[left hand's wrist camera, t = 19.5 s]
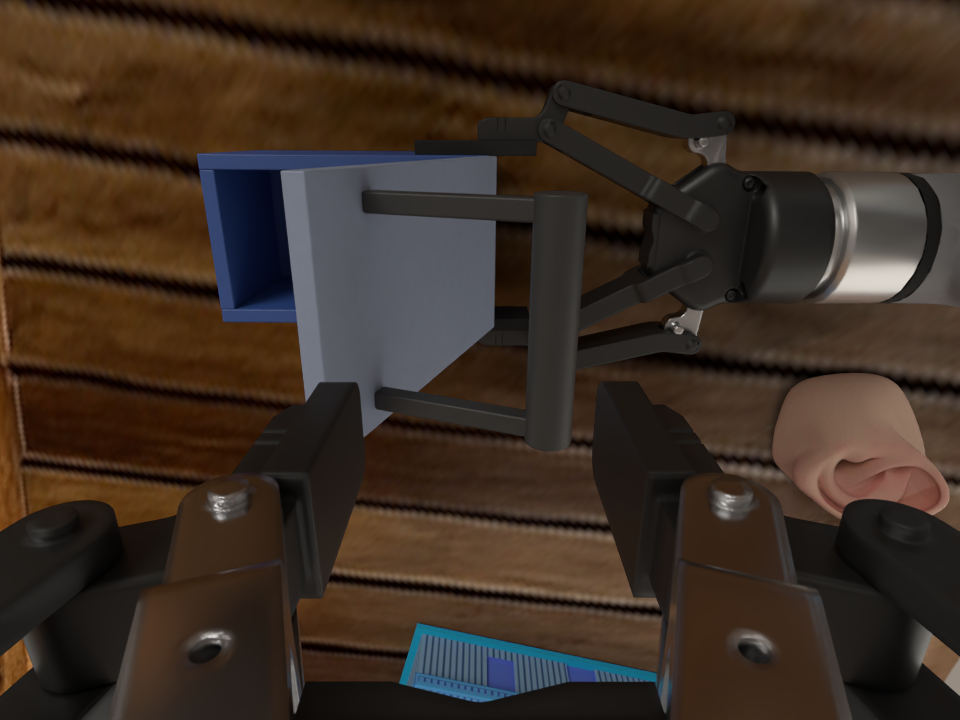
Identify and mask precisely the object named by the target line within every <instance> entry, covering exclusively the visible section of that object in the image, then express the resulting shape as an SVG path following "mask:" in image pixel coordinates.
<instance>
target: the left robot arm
mask: <svg viewBox="0 0 960 720" xmlns="http://www.w3.org/2000/svg"><path fill="white" fill-rule="evenodd" d="M592 465H593V474H594V479H595V483H596V486H597V489H598V492H599V495H600V498H601V501H602V504H603V507H604V510H605V513H606V516H607V519H608V522H609V525H610V528H611V531H612V534H613V537H614V540H615V543H616V546H617V549H618V552H619V555H620V558H621V561H622V564H623V567H624V570H625V573H626V576H627V579H628V582H629V585H630V588H631V591H632V594H633V597H656V598H657V601H658V604H659V606H660V609H661V612H662V614H663V615H662V622H661V629H660V640H659V651H658V663H657V674H656V685H655V682H565V683H561V684H557V685H553V686H549V687H545V688H541V689H537V690H532V691H528V692H524V693H520V694H516V695H512V696H508V697H504V698H500V699H496V700H492V701H486V702H474V701H468V700H464V699H460V698H456V697H452V696H448V695H444V694H440V693H436V692H432V691H428V690H423V689H419V688H415V687H411V686H407V685H403V684H399V683H395V682H305V685H304V674H303V663H302V651H301V640H300V629H299V622H298V615H297V608H296V606H297V604H298V601H299V599H300V598H323V595H324V592H325V589H326V586H327V583H328V580H329V577H330V574H331V571H332V568H333V565H334V562H335V560H336V557H337V554H338V551H339V548H340V545H341V542H342V539H343V536H344V533H345V530H346V527H347V524H348V522H349V519H350V516H351V513H352V510H353V507H354V504H355V501H356V498H357V495H358V492H359V489H360V486H361V483H362V480H363V475H364V467H365V448H364V435H363V423H362V411H361V398H360V390H359V386H358V384H357V382H319V383H318V385H317V386H316V388H315V389H314V391H313V392H312V394H311V395H310V397H309V398H308V400H307V401H306V403H305V404H304V405H292V406H291V407H289V408H287V409H286V410H284V411H282V412H281V413H279V414H278V415H276V416H274V417H273V418H272V420H271V421H270V422H269V424H268V425H267V427H266V428H265V429H264V433H261V435H260V436H259V437H258V439H257V440H256V442H255V445H253V446H252V447H251V448H250V450H249V451H248V452H247V454H246V455H245V456H244V458H243V459H242V461H241V462H240V463H239V465H238V466H237V467H236V469H235V470H234V471H233V473H232V474H229V475H225V476H221V477H218V478H214V479H212V480H209V481H207V482H205V483H203V484H201V485H199V486H197V487H196V488H194V489H193V490H191V491H190V492H189V493H187V494H186V495H185V497H184V498H183V499H182V500H181V502H180V504H179V507H178V511H177V515H175V516H171V517H168V518H163V519H159V520H154V521H148V522H143V523H138V524H132V525H127V526H122V527H118V523H117V520H116V516H115V512H114V510H113V508H112V507H111V506H110V505H108V504H106V503H104V502H100V501H93V500H82V501H73V502H67V503H62V504H58V505H54V506H51V507H48V508H45V509H42V510H40V511H37V512H35V513H32V514H30V515H28V516H26V517H24V518H22V519H20V520H19V521H17V522H15V523H14V524H12V525H10V526H9V527H7V528H6V529H4V530H2V531H1V532H0V656H1V655H3V654H4V653H5V652H6V651H7V650H9V649H10V648H11V647H12V646H14V645H15V644H16V643H17V642H18V641H20V640H21V639H22V638H23V641H24V643H25V646H26V649H27V651H28V654H29V657H30V660H31V662H32V665H33V668H32V669H30V670H29V671H28V672H27V673H26V674H25V675H24V676H22V677H21V678H20V679H19V680H18V681H17V682H16V683H15V684H13V685H12V686H11V687H10V688H9V689H8V690H7V691H5V692H4V693H3V694H2V695H1V696H0V720H960V696H959V695H958V694H957V693H956V692H955V691H953V690H952V689H951V688H950V687H949V686H948V685H947V684H945V683H944V682H943V681H942V680H941V679H940V678H939V677H938V676H936V675H935V674H934V673H933V672H932V671H931V670H930V669H928V668H927V667H926V666H925V665H924V664H923V663H922V661H923V658H924V656H925V653H926V650H927V647H928V645H929V642H930V639H931V636H932V634H933V635H934V636H935V637H937V638H938V639H939V640H940V641H942V642H943V643H944V644H945V645H946V646H948V647H949V648H950V649H951V650H953V651H954V652H955V653H956V654H957V655H959V656H960V532H959V531H958V530H956V529H954V528H953V527H951V526H950V525H948V524H946V523H945V522H943V521H942V520H940V519H938V518H936V517H935V516H933V515H931V514H928V513H926V512H924V511H922V510H919V509H917V508H914V507H911V506H908V505H905V504H901V503H897V502H893V501H888V500H881V499H860V500H856V501H853V502H851V503H849V504H847V505H846V506H845V508H844V510H843V514H842V517H841V521H840V525H839V527H838V526H833V525H827V524H822V523H817V522H812V521H806V520H801V519H796V518H791V517H787V516H783V511H782V507H781V504H780V502H779V500H778V499H777V498H776V497H775V495H774V494H773V493H771V492H770V491H769V490H767V489H766V488H764V487H763V486H761V485H759V484H757V483H755V482H753V481H751V480H748V479H746V478H742V477H739V476H735V475H731V474H724V472H723V471H722V470H721V468H720V467H719V465H718V464H717V463H716V461H715V460H714V459H713V457H712V456H711V454H710V453H709V452H708V450H707V449H706V447H705V446H704V445H703V444H701V441H700V439H699V438H698V436H697V435H696V434H695V433H693V430H692V428H691V427H690V425H689V424H688V423H687V421H686V420H685V419H684V417H683V416H681V415H680V414H678V413H677V412H675V411H673V410H672V409H670V408H669V407H667V406H665V405H652V403H651V402H650V400H649V399H648V397H647V395H646V394H645V392H644V391H643V389H642V388H641V386H640V385H639V383H638V382H600V383H599V386H598V390H597V398H596V411H595V424H594V436H593V449H592Z"/></svg>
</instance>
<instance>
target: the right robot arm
mask: <svg viewBox="0 0 960 720" xmlns="http://www.w3.org/2000/svg"><path fill="white" fill-rule="evenodd" d="M568 111H571V112H574V113H578V114H582V115H585V116H589V117H593V118H596V119H600V120H604V121H607V122H611V123H615V124H618V125H622V126H626V127H630V128H633V129H637V130H641V131H644V132H648V133H652V134H655V135H659V136H663V137H668V138H678V139H683V146H684V149H685V150H686V151H688V152H690V153H695V154H697V155H698V156H699V157H700V158H701V162H702V165H700V166H698V167H697V168H695V169H694V170H693V171H691V172H690V173H688V174H687V175H685V176H684V177H682V178H681V179H680V180H678V181H677V182H675V183H674V184H672V185H670V184H668V183H666V182H665V181H663V180H661V179H659V178H657V177H655V176H653V175H651V174H649V173H648V172H646V171H644V170H642V169H641V168H639V167H637V166H635V165H634V164H632V163H630V162H629V161H627V160H625V159H623V158H622V157H620V156H618V155H616V154H615V153H613V152H611V151H609V150H608V149H606V148H604V147H603V146H601V145H599V144H597V143H596V142H594V141H592V140H590V139H589V138H587V137H585V136H584V135H582V134H580V133H578V132H577V131H575V130H573V129H571V128H570V127H568V126H566V125H564V124H563V122H564V120H565V117H566V115H567V112H568ZM734 126H735V117H734V116H733V114H732V113H730V112H727V111H722V112H712V113H703V114H695V115H691V114H687V113H684V112H680V111H676V110H673V109H669V108H665V107H662V106H658V105H655V104H651V103H647V102H644V101H640V100H636V99H633V98H629V97H626V96H622V95H618V94H615V93H611V92H607V91H604V90H600V89H597V88H593V87H589V86H586V85H582V84H578V83H575V82H571V81H568V80H562V81H559V82H558V83H556V84H555V85H553V86H552V87H551V88H550V90H549V92H548V96H547V98H546V101H545V104H544V106H543V109H542V111H541V112H540V114H539V115H537V116H536V117H533V118H485V119H483V120H480V121H478V140H415V155H488V156H536V148H537V142H543V143H545V144H547V145H548V146H550V147H552V148H554V149H555V150H557V151H559V152H561V153H563V154H564V155H566V156H568V157H570V158H571V159H573V160H575V161H577V162H578V163H580V164H582V165H584V166H585V167H587V168H589V169H591V170H592V171H594V172H596V173H598V174H600V175H601V176H603V177H605V178H607V179H608V180H610V181H612V182H614V183H615V184H617V185H619V186H621V187H622V188H624V189H626V190H628V191H629V192H631V193H632V194H634V195H636V196H638V197H639V198H641V199H643V200H645V201H646V202H648V203H649V205H648V207H647V209H644V213H643V228H644V239H643V241H642V244H641V247H640V252H639V262H640V263H641V264H640V265H638V266H636V267H634V268H632V269H630V270H628V271H626V272H625V273H624V274H623V275H622V276H621V277H619V278H617V279H615V280H613V281H611V282H609V283H606V284H604V285H602V286H600V287H598V288H596V289H594V290H592V291H590V292H588V293H586V294H584V295H582V296H581V305H580V319H579V331H580V330H583V329H585V328H587V327H589V326H591V325H593V324H595V323H597V322H600V321H602V320H604V319H606V318H608V317H610V316H612V315H614V314H617V313H619V312H621V311H623V310H625V309H627V308H629V307H631V306H634V305H636V304H638V303H645V302H649V301H651V300H653V299H655V298H658V297H660V296H662V295H664V294H666V293H670V294H671V295H672V296H673V297H675V298H676V299H677V300H679V301H680V302H681V303H682V304H683V305H682V307H681V309H680V310H679V311H678V312H676V313H671V314H667V315H665V316H664V317H663V319H662V321H661V322H657V321H655V322H645V323H640V324H635V325H631V326H626V327H621V328H617V329H612V330H608V331H603V332H599V333H594V334H590V335H585V336H581V337H578V347H577V361H576V370H579V369H584V368H588V367H593V366H597V365H602V364H607V363H611V362H616V361H621V360H625V359H630V358H634V357H639V356H644V355H648V354H653V353H658V352H662V351H663V352H672V353H681V354H695V353H697V352H698V351H699V350H700V349H701V347H702V342H701V339H700V338H698V337H697V332H698V328H699V325H700V321H701V317H702V313H703V310H707V309H709V308H711V307H713V306H715V305H718V304H721V303H795V302H798V301H800V300H801V301H803V302H805V303H921V304H942V305H949V306H954V307H958V308H960V173H923V174H910V173H898V172H822V173H819V174H817V175H815V174H813V173H811V172H776V171H738V170H736V169H734V168H733V167H731V166H730V165H728V164H726V163H725V157H726V135H727V134H729V133H730V132H731V131H732V130H733V128H734ZM528 336H529V312H528V309H527V307H515V306H494V327H493V328H492V329H491V330H490V331H489V332H487V333H486V334H485V335H484V336H483V337H482V338H480V339H479V340H478V341H477V342H478V343H481V344H483V345H523V346H528Z"/></svg>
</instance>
